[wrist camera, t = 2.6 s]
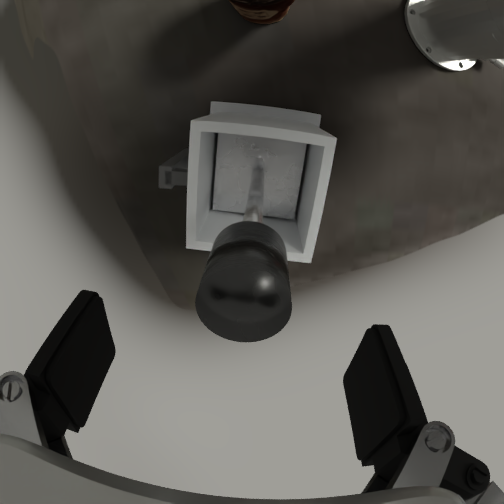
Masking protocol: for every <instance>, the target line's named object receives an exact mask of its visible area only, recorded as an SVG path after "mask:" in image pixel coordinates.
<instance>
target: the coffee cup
mask: <svg viewBox="0 0 504 504" xmlns="http://www.w3.org/2000/svg"><path fill="white" fill-rule="evenodd" d="M228 1H229V2H230V3H231V4H232V5H233V7H234V8H235V9H236V10H237V11H238V13H239V14H240V15H241V16H242V17H243V18H244V19H246V20H247V21H250V22H253V23H258V24H271V23H274V22H279V21H281V20H282V19H283V17H284V16H285V15H286V14H287V13H288V10H289V8H290V7H289V6H290V5H291V4H292V3H293V2H294V1H295V0H228Z"/></svg>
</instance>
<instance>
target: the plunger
mask: <svg viewBox="0 0 504 504" xmlns="http://www.w3.org/2000/svg"><path fill="white" fill-rule="evenodd" d="M306 145H307V143H301V142H294V141H288V140H281V139H273V138H265V137H257V136H248V135H239V134H228V133H218V145H217V157H216V169H215V183H214V198H213V210H221V211H230V212H239V213H244V218H243V221H241V222H237V223H234V224H231V225H229V226H228V227H226V228H225V229H223V230H222V231H221V232H220V233H219V234H218V236H217V237H216V239H215V241H214V244H213V247H212V250H211V253H210V256H209V258H208V261H207V264H206V267H205V271H204V274H203V277H202V280H201V283H200V286H199V289H198V292H197V295H196V302H195V304H196V310H197V313H198V316H199V318H200V319H201V321H202V322H203V323H204V325H205V326H206V327H207V328H208V329H209V330H211V331H212V332H213V333H215V334H217V335H219V336H221V337H223V338H226V339H228V340H233V341H237V342H256V341H261V340H264V339H267V338H269V337H272V336H273V335H275V334H277V333H278V332H279V331H281V329H283V328H284V326H285V325H286V324H287V322H288V321H289V319H290V316H291V311H292V302H291V292H290V282H289V272H288V262H287V253H286V247H285V244H284V242H283V240H282V238H281V237H280V235H279V234H278V233H277V232H276V231H275V230H274V229H272V228H271V227H269V226H267V225H265V224H263V215H264V216H272V217H280V218H287V219H294V215H295V210H296V204H297V199H298V193H299V187H300V181H301V176H302V170H303V164H304V158H305V151H306Z"/></svg>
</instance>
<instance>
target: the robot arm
mask: <svg viewBox="0 0 504 504" xmlns="http://www.w3.org/2000/svg"><path fill="white" fill-rule="evenodd" d="M404 15H405V22H406V26H407V29H408V32H409V34H410V36H411V38H412V40H413V41H414V43H415V45H416V46H417V47H418V49H419V50H420V51H421V52H422V53H423V54H424V55H425V56H426V57H427V59H429V60H430V61H431V62H433V63H434V64H436V65H437V66H439V67H441V68H444V69H446V70H451V71H463V70H467V69H469V68H470V67H472V66H473V65H474V64H475V63H476V61H477V59H483V60H485V61H486V60H489V61H490V62H491V63H492V64H494V65H495V66H497V67H498V68H503V67H504V0H407V2H406V5H405V12H404ZM426 50H427V51H426ZM114 356H115V345H114V342H113V338H112V335H111V331H110V327H109V324H108V320H107V316H106V312H105V307H104V303H103V299H102V298H101V297H99V294H98V293H97V292H93V291H88V290H82V291H80V293H79V294H78V295H77V297H76V298H75V299H74V301H73V302H72V303H71V305H70V306H69V307H68V309H67V310H66V312H65V313H64V314H63V316H62V317H61V319H60V320H59V321H58V323H57V324H56V326H55V327H54V328H53V330H52V331H51V333H50V334H49V336H48V337H47V339H46V340H45V342H44V343H43V345H42V346H41V348H40V349H39V351H38V352H37V354H36V356H35V357H34V359H33V360H32V362H31V363H30V365H29V366H28V368H27V370H26V372H25V374H24V376H23V375H22V374H21V373H19V372H16V371H10V372H6V373H4V374H3V375H1V376H0V504H504V493H503V492H502V490H501V489H500V488H499V487H498V486H497V485H496V484H495V483H494V482H493V481H492V482H491V483H490V482H489V481H490V473H489V469H488V468H487V466H486V465H485V464H484V463H483V462H481V461H480V460H478V459H476V458H475V457H473V456H471V455H470V454H468V453H466V452H464V451H463V450H461V449H459V448H458V447H456V446H454V444H455V437H454V434H453V432H452V430H451V429H450V427H449V426H447V425H446V424H445V423H442V422H440V421H432V422H429V423H428V421H427V418H426V415H425V412H424V409H423V406H422V404H421V401H420V398H419V395H418V393H417V390H416V387H415V385H414V382H413V380H412V377H411V374H410V372H409V369H408V367H407V365H406V363H405V361H404V359H403V356H402V354H401V351H400V348H399V346H398V344H397V341H396V339H395V337H394V334H393V332H392V330H391V328H390V326H388V325H376V324H375V325H373V326H372V327H371V328H369V329H367V330H366V332H365V334H364V337H363V339H362V341H361V343H360V345H359V347H358V349H357V351H356V353H355V355H354V357H353V359H352V361H351V363H350V365H349V367H348V369H347V371H346V372H345V374H344V378H343V384H344V389H345V395H346V399H347V404H348V410H349V415H350V420H351V425H352V431H353V437H354V443H355V449H356V454H357V458H358V460H361V462H362V466H370V465H374V469H375V473H374V475H373V477H372V478H371V480H370V481H369V483H368V484H367V486H366V487H365V489H364V490H363V492H362V493H361V494H355V495H347V496H337V497H327V498H314V499H289V500H288V499H287V500H275V499H274V500H273V499H246V498H245V499H244V498H232V497H222V496H213V495H205V494H198V493H192V492H186V491H180V490H175V489H169V488H165V487H160V486H156V485H152V484H148V483H144V482H140V481H136V480H132V479H129V478H125V477H122V476H118V475H115V474H112V473H109V472H106V471H103V470H100V469H97V468H95V467H92V466H89V465H86V464H84V463H81V462H78V461H76V460H73V458H72V455H71V453H70V451H69V448H68V445H67V442H66V439H65V436H64V434H65V432H66V429H69V430H71V431H74V432H77V433H78V432H79V429H80V427H84V425H85V423H86V421H87V419H88V416H89V414H90V412H91V409H92V407H93V404H94V402H95V399H96V397H97V395H98V393H99V390H100V388H101V386H102V383H103V381H104V379H105V376H106V374H107V372H108V370H109V368H110V365H111V363H112V361H113V359H114Z"/></svg>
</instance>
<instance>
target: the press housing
mask: <svg viewBox="0 0 504 504" xmlns="http://www.w3.org/2000/svg"><path fill="white" fill-rule="evenodd" d="M320 120H321V115H320V114H315V113H309V112H303V111H297V110H291V109H284V108H277V107H269V106H261V105H251V104H241V103H229V102H215V101H211V108H210V115H207V116H203V117H200V118H197V119H194V120H191V126H190V141H189V148H185V149H183V150H182V151H180V152H179V153H177V154H176V155H174V156H173V157H171V158H170V159H168V160H167V161H165V162H164V163H163V164H161V165H160V166H159V188H165V189H172V188H173V187H174V186H175V185H182V186H187V215H186V248H188V249H197V250H205V251H211V250H212V247H213V244H214V241H215V239H216V237H217V236H218V234H219V233H220V232H221V231H222V230H223V229H225V228H226V227H228V226H229V225H231V224H234V223H237V222H241V221H243V218H244V213H239V212H230V211H221V210H213V198H214V183H215V169H216V157H217V145H218V133H228V134H239V135H248V136H257V137H265V138H273V139H281V140H288V141H294V142H301V143H307V145H306V151H305V158H304V164H303V170H302V176H301V181H300V187H299V193H298V199H297V204H296V210H295V215H294V219H287V218H280V217H272V216H264V215H263V224H265V225H267V226H269V227H271V228H272V229H274V230H275V231H276V232H277V233H278V234H279V235H280V237H281V238H282V240H283V242H284V244H285V247H286V253H287V260H288V261H297V262H305V263H311V260H312V256H313V251H314V247H315V243H316V239H317V234H318V230H319V226H320V221H321V217H322V212H323V207H324V203H325V198H326V193H327V188H328V183H329V178H330V173H331V168H332V163H333V158H334V152H335V147H336V141H337V138H336V137H334V136H332V135H331V134H329V133H327V132H326V131H324V130H322V129H320V128H319V126H320Z"/></svg>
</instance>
